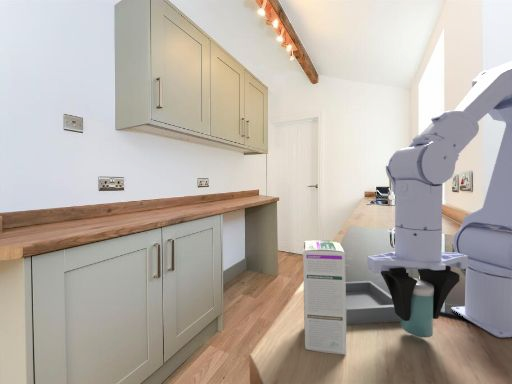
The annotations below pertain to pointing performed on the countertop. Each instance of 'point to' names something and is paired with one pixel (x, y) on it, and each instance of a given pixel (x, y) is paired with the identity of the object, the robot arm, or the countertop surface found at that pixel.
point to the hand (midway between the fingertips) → (416, 316)
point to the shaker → (421, 310)
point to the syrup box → (324, 296)
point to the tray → (368, 304)
